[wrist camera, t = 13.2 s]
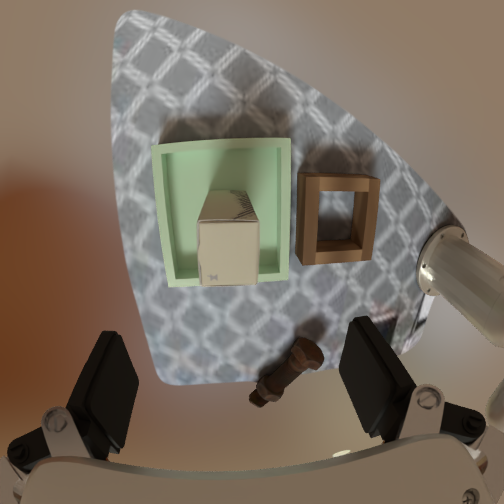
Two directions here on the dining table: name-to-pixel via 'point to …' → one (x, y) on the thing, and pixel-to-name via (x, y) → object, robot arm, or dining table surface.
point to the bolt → (287, 372)
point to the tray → (222, 178)
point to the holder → (362, 221)
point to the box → (228, 240)
